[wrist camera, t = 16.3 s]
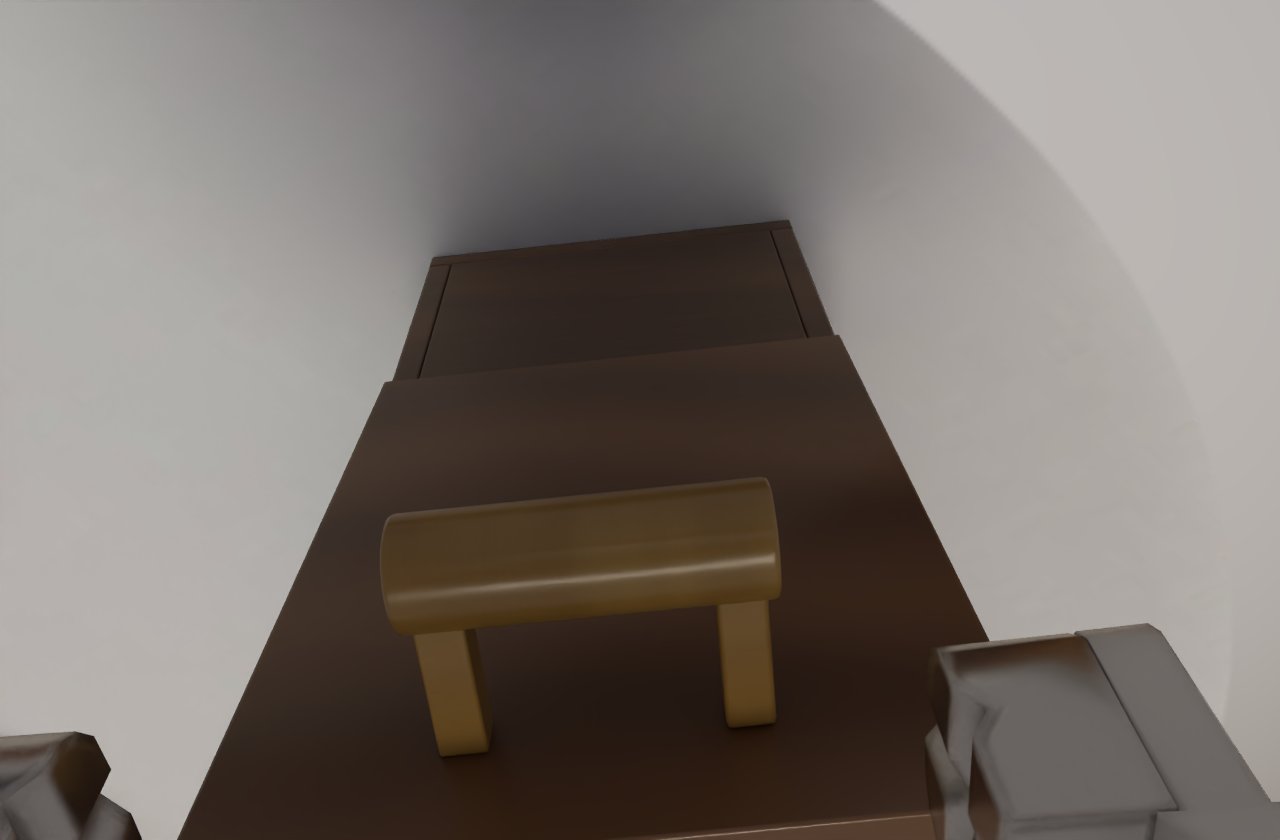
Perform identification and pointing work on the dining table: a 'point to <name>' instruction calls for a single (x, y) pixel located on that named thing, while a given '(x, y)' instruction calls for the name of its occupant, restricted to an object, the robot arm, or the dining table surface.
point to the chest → (612, 300)
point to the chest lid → (605, 616)
